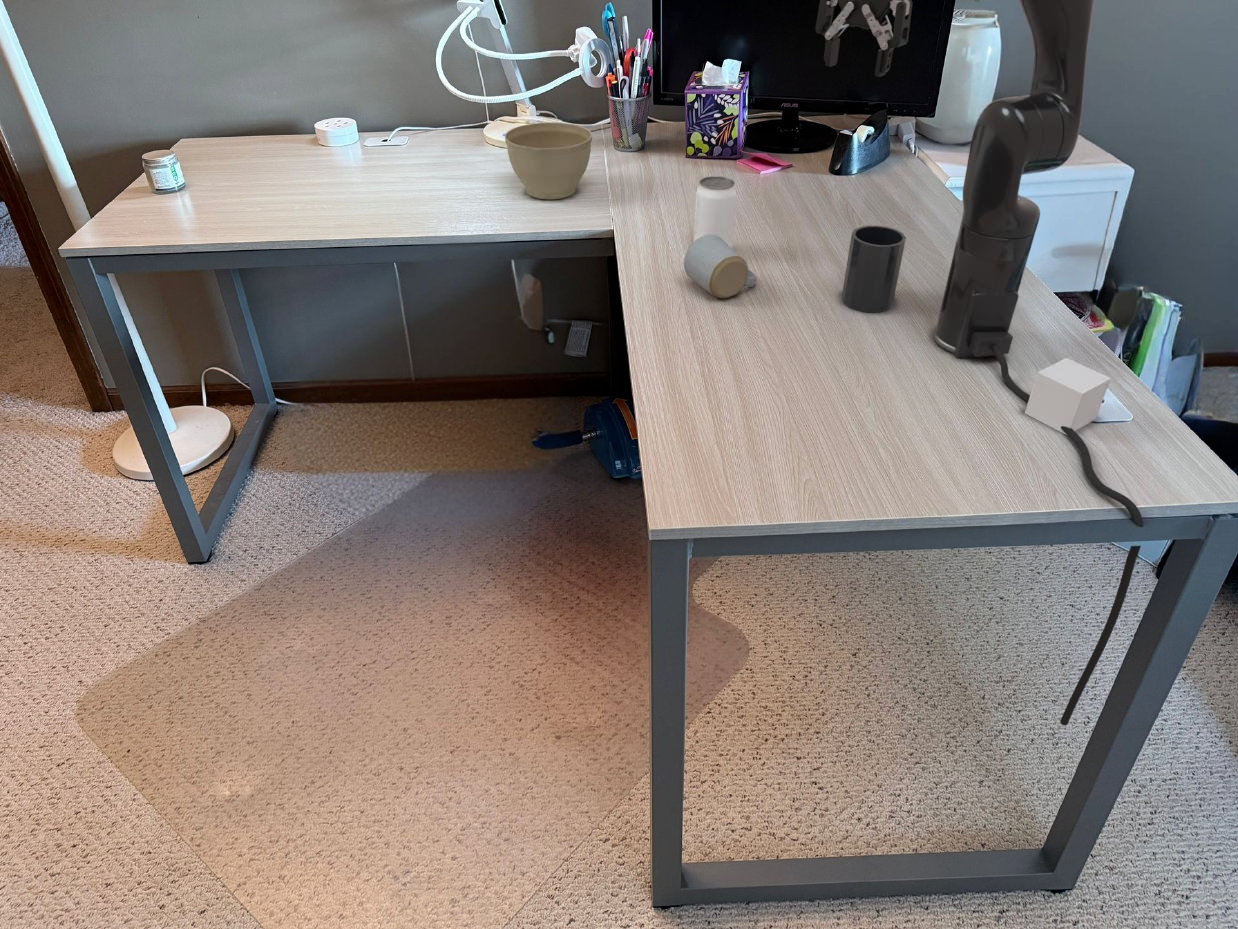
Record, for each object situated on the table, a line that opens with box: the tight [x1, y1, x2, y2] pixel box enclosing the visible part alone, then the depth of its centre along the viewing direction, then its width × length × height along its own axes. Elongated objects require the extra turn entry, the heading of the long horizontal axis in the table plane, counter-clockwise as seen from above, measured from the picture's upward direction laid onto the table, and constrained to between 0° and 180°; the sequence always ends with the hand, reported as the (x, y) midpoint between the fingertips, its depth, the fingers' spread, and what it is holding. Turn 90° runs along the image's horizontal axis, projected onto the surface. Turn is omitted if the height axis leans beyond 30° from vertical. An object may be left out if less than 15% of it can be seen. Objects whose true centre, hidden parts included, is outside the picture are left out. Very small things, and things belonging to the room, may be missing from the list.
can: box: [693, 175, 737, 249], centre depth 149 cm, size 6×6×12 cm
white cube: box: [1024, 357, 1112, 436], centre depth 112 cm, size 6×6×6 cm
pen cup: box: [841, 225, 907, 314], centre depth 135 cm, size 8×8×10 cm
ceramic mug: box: [683, 235, 758, 299], centre depth 140 cm, size 11×8×8 cm
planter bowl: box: [504, 121, 593, 200], centre depth 172 cm, size 16×16×11 cm
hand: (855, 70), depth 138 cm, fingers open, 8 cm apart
